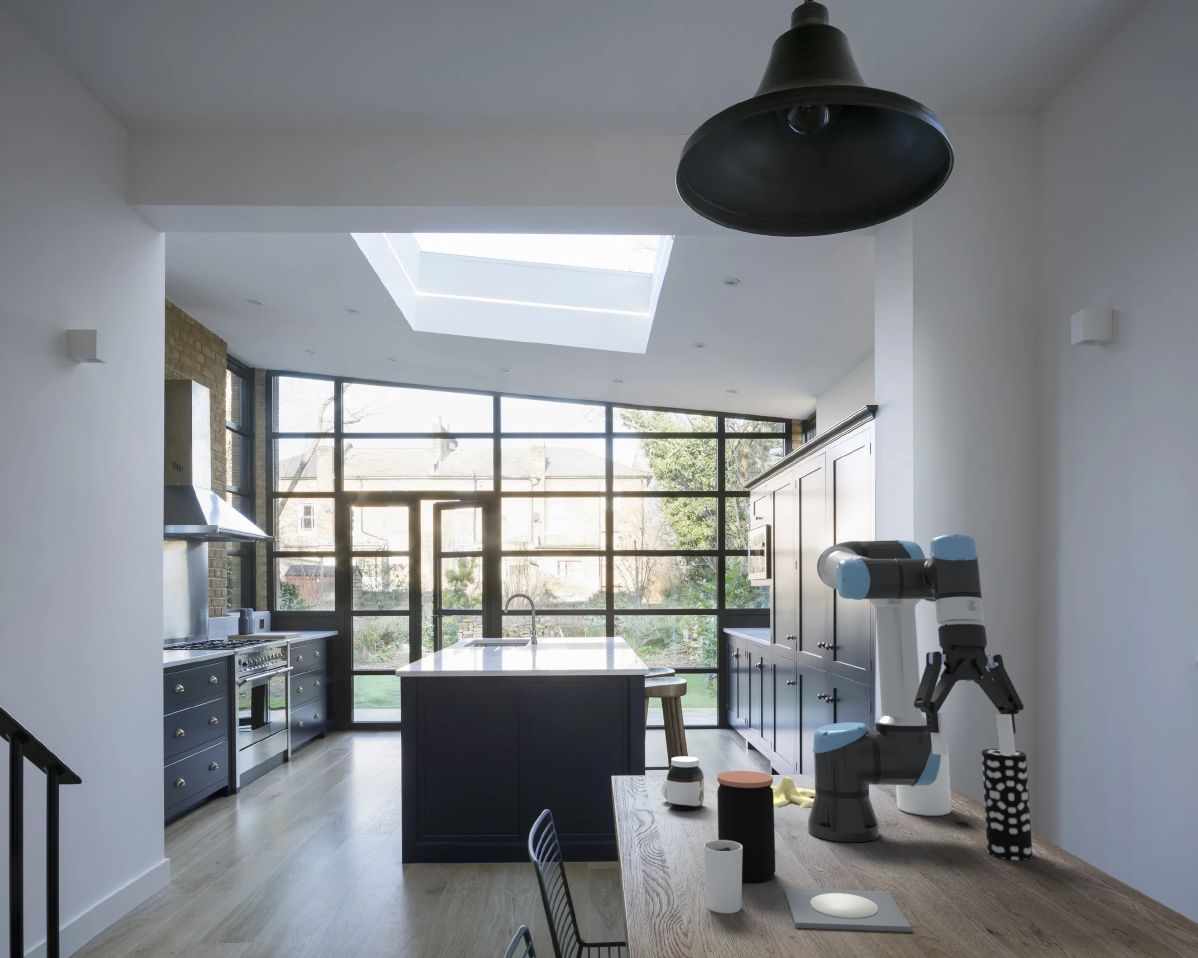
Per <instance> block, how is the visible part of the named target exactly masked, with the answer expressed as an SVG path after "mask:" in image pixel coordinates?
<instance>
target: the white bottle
mask: <svg viewBox="0 0 1198 958" xmlns="http://www.w3.org/2000/svg"><path fill="white" fill-rule="evenodd" d="M947 753H948V755H941V761H940V768H939V773H938V775H937V778H936V780H935V781H934V782H933V783H932V784H930V785H918V786H913V787H912V786H910V785H895V786H896V788H895V789H896V791H895V792H896V805H897V806H896V807H897V808H898V809H899V810H900V811H902V812H905V813H908V814H911V815H917V816H924V817H926V816H927V817H938V816H944V815H948V814H950V813H951V812H952V795H951V778H950V777H951V776H950V756H949V745H947Z"/></svg>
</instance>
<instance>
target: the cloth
mask: <svg viewBox="0 0 1198 958" xmlns="http://www.w3.org/2000/svg"><path fill="white" fill-rule="evenodd" d="M771 788H772V789H773V797H774V809H778V808H781V807H783V806H784V807H785V806H786V805H788V803H789V804H790V803H791V802H792V803H795V804H797V805H799V808H801V809H805V808H806V809H808V808H812V805H813V802H814V798H815V789H810V788H801V787H800V788H799V787H796V786H795V782H794V779H793V778H791V777H787V776H785V777H784V778H783V779H782V780H781V782H780V783H779V785H778V786H775V785H771ZM812 797H813V798H812Z"/></svg>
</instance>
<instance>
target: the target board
mask: <svg viewBox="0 0 1198 958" xmlns="http://www.w3.org/2000/svg"><path fill="white" fill-rule="evenodd" d="M784 895H785V898H786V901H787V905H788V907H789V911H790V915H791V917H792V920H793V924H794V926H795V927H794V928H797V929H819V930H822V929H823V930H842V931H843V930H845V931H847V930H848V931H870V932H872V931H873V932H874V931H876V932H898V933H901V932H902V933H912V926H911V924H910V922H909V921H908V919H907V918H906V916H905V914H904V913H903V911H902V910H901V908H900V907H899V906H898V904H897V903H896V901H895V900H894V898H893V896H892V895H891V893H890V892H889V890H866V889H865V890H863V889H861V890H860V889H859V890H857V889H830V888H804V887H803V888H799V887H797V888H796V887H784Z"/></svg>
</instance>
